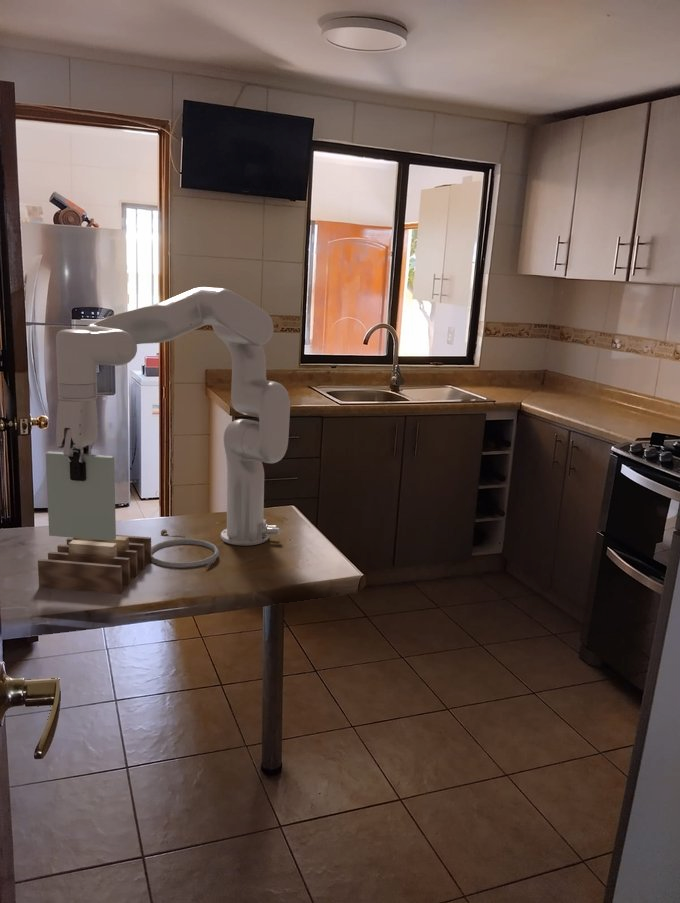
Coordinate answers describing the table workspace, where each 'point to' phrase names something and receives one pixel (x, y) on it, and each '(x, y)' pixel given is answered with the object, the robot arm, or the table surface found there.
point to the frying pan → (184, 541)
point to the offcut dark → (121, 542)
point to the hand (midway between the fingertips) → (80, 478)
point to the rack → (95, 568)
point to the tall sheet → (81, 498)
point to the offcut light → (93, 548)
